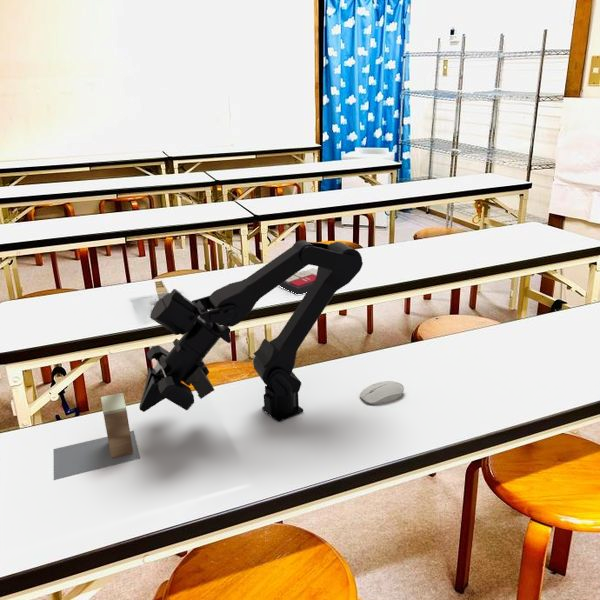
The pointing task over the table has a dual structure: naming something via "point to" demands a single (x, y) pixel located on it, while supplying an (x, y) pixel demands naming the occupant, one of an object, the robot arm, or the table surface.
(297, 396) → the robot arm
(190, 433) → the table surface
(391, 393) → the computer mouse
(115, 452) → the walnut block
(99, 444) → the felt mat
